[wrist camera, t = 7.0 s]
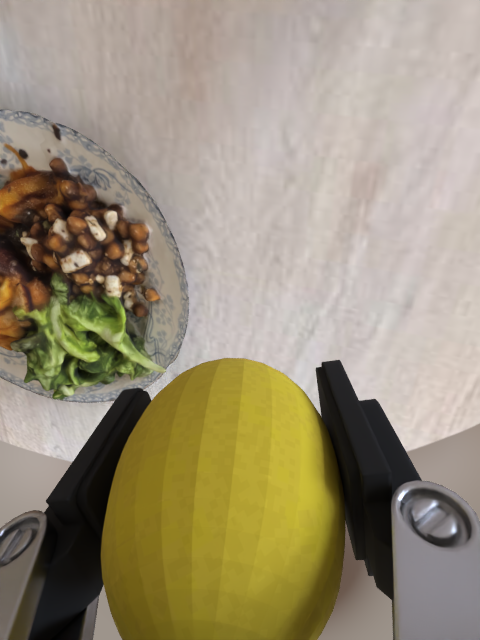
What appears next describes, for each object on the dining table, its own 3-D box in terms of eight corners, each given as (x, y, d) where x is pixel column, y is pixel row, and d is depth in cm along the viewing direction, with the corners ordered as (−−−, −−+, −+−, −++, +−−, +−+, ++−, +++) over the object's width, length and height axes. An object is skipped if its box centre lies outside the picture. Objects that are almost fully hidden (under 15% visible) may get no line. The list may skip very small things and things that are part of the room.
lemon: (297, 444, 12) (350, 811, 5) (168, 426, 12) (37, 762, 5) (328, 327, 10) (504, 690, 3) (169, 307, 10) (-63, 606, 3)
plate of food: (159, 420, 37) (141, 462, 31) (-67, 348, 34) (-131, 379, 29) (232, 190, 25) (224, 191, 19) (-103, 58, 23) (-220, 17, 17)
